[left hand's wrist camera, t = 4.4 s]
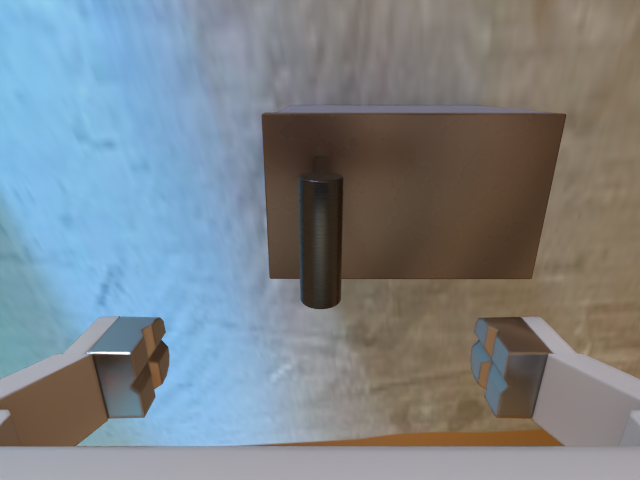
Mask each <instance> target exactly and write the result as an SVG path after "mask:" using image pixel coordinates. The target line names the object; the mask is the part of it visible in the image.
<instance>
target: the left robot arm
mask: <svg viewBox="0 0 640 480" xmlns="http://www.w3.org/2000/svg"><path fill="white" fill-rule="evenodd" d="M165 333H166V331H165V326H164V321H163V320H162V319H161V318H160V317H120V316H116V317H100V318H98V319H97V320H96V321H95V322H94V323H93V324H92V325H91V326H90V327H89V328H88V329H87V330H86V331H85V332H84V333H83V334H82V335H81V336H80V337H79V338H78V339H77V340H76V341H75V342H74V343H73V344H72V345H71V346H70V347H69V348H68V349H67V350H66V351H65V352H64V353H63V354H55V355H53V356H50V357H48V358H46V359H44V360H42V361H39V362H37V363H35V364H33V365H31V366H28V367H26V368H24V369H22V370H20V371H17V372H15V373H13V374H11V375H8V376H6V377H4V378H2V379H0V480H640V379H638V378H636V377H634V376H631V375H629V374H627V373H625V372H623V371H620V370H618V369H616V368H614V367H612V366H609V365H607V364H605V363H603V362H601V361H598V360H596V359H594V358H592V357H590V356H587V355H585V354H577V353H576V352H575V351H574V350H573V349H572V348H571V347H570V346H569V345H568V344H567V343H566V342H565V341H564V340H563V339H562V338H561V337H560V336H559V335H558V334H557V333H556V332H555V331H554V330H553V329H552V328H551V327H550V326H549V325H548V324H547V323H546V322H545V321H544V320H543V319H542V318H540V317H538V316H532V317H501V318H478V320H477V322H476V325H475V331H474V333H475V334H476V336H477V337H478V339H479V340H478V341H477V342H476V343H475V344H474V345H473V346H472V350H471V369H472V372H473V375H474V378H475V380H476V382H477V384H479V385H480V386H482V387H483V388H485V389H486V391H485V399H486V400H487V402H488V404H489V406H490V408H491V410H492V411H493V413H494V415H495V417H496V418H531V419H532V421H534V422H535V423H536V424H537V425H539V426H540V427H541V428H542V429H544V430H545V431H546V432H548V433H549V434H550V435H551V436H553V437H554V438H555V439H556V440H558V441H559V442H560V443H561V444H563V445H564V446H76V445H77V444H79V443H80V442H81V441H83V440H84V439H85V438H86V437H88V436H89V435H90V434H91V433H93V432H94V431H95V430H96V429H98V428H99V427H100V426H101V425H103V424H104V423H105V422H106V421H108V419H109V418H144V417H145V415H146V413H147V412H148V410H149V408H150V406H151V404H152V402H153V400H154V399H155V391H154V389H155V388H157V387H158V386H160V385H161V384H163V382H164V380H165V378H166V376H167V372H168V367H169V349H168V346H167V345H166V344H165V343H164V342H163V341H162V340H161V339H162V337H163V336H164V334H165Z"/></svg>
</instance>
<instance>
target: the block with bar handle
mask: <svg viewBox="0 0 640 480" xmlns="http://www.w3.org/2000/svg"><path fill="white" fill-rule="evenodd" d="M565 119H566V114H561V113H264V114H262V132H263V152H264V173H265V193H266V213H267V233H268V254H269V274H270V278H271V279H300V291H301V301H302V303H303V304H304V305H306V306H308V307H310V308H314V309H327V308H331V307H334V306H336V305H337V304H338V303H339V302H340V300H341V279H532V275H533V270H534V265H535V261H536V256H537V251H538V246H539V242H540V237H541V232H542V227H543V223H544V218H545V213H546V208H547V204H548V199H549V194H550V190H551V185H552V180H553V175H554V171H555V166H556V161H557V156H558V152H559V147H560V142H561V137H562V133H563V128H564V123H565Z"/></svg>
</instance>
